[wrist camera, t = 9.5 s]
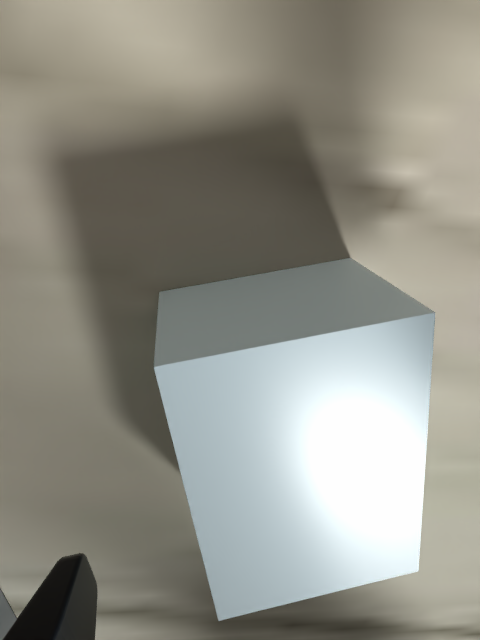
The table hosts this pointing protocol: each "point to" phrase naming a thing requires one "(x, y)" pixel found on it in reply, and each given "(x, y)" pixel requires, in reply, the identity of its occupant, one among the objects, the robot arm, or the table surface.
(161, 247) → the table surface
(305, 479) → the pale blue carton
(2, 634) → the charcoal tote
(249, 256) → the table surface
